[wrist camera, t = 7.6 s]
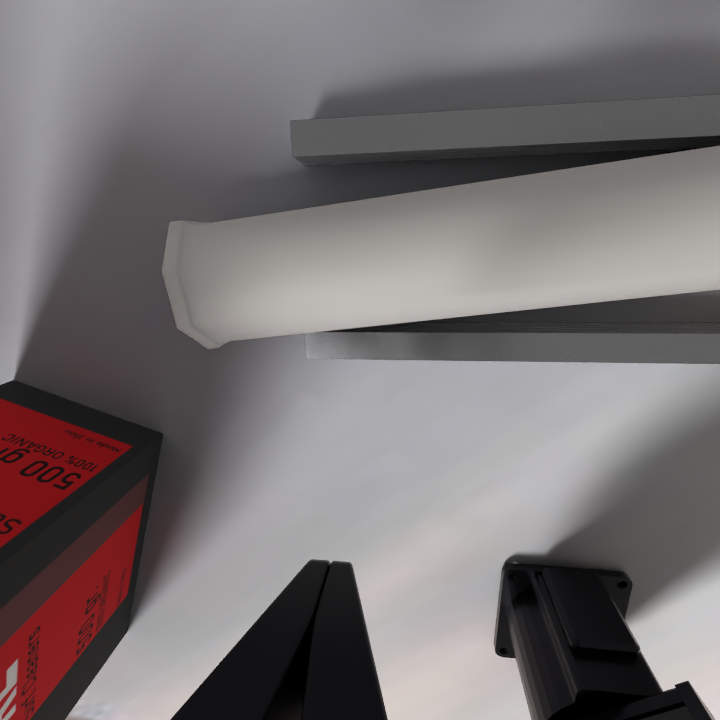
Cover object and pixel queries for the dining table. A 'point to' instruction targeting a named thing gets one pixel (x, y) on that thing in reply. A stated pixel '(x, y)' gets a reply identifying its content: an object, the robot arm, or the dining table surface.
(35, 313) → the dining table surface
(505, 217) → the tube
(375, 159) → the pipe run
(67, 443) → the cleaning product box
